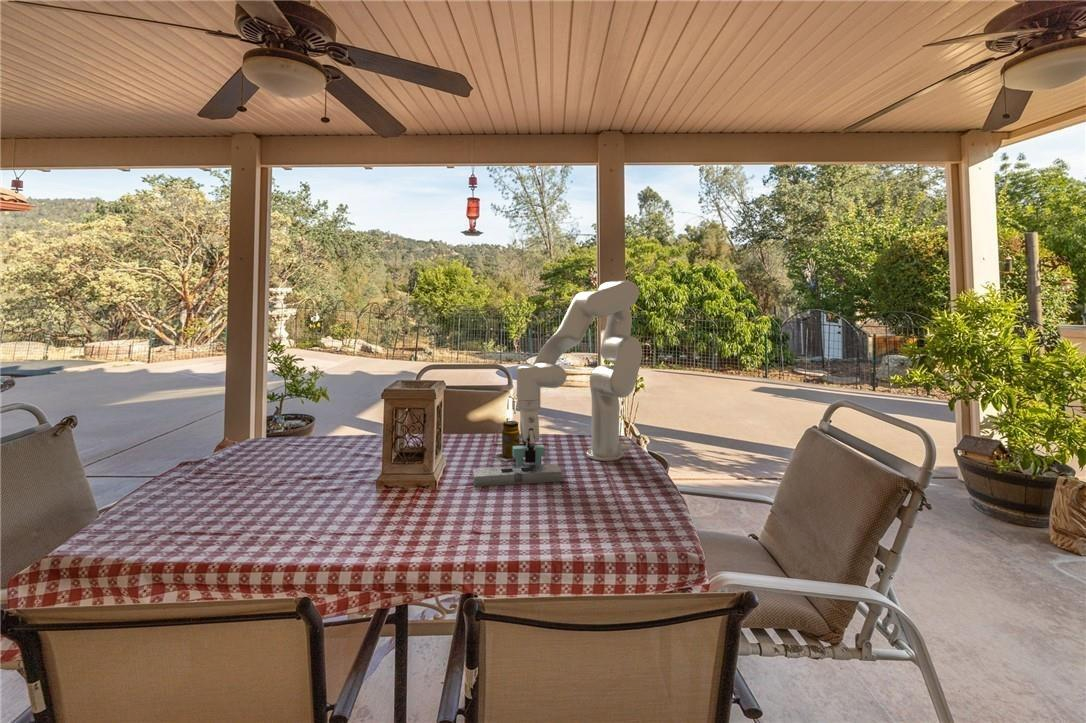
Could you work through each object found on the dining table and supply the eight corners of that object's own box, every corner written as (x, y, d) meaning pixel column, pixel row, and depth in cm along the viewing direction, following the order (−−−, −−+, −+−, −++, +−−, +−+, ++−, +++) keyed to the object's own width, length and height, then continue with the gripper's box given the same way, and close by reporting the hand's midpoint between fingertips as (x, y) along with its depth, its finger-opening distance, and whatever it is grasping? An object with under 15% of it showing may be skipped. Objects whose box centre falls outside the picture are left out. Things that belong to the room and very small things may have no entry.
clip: (543, 465, 162) (543, 444, 161) (544, 468, 159) (544, 447, 158) (512, 467, 160) (512, 446, 159) (513, 470, 157) (513, 448, 156)
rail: (557, 473, 155) (557, 463, 154) (561, 481, 148) (562, 471, 147) (473, 478, 150) (472, 468, 150) (474, 486, 143) (473, 476, 143)
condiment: (524, 456, 172) (524, 422, 170) (505, 461, 166) (505, 426, 164) (511, 451, 177) (511, 418, 176) (492, 456, 171) (492, 422, 170)
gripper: (545, 409, 149) (545, 467, 151) (535, 398, 166) (535, 450, 168) (520, 410, 148) (520, 468, 150) (513, 399, 165) (513, 451, 167)
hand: (528, 458), depth 159 cm, fingers open, 6 cm apart
